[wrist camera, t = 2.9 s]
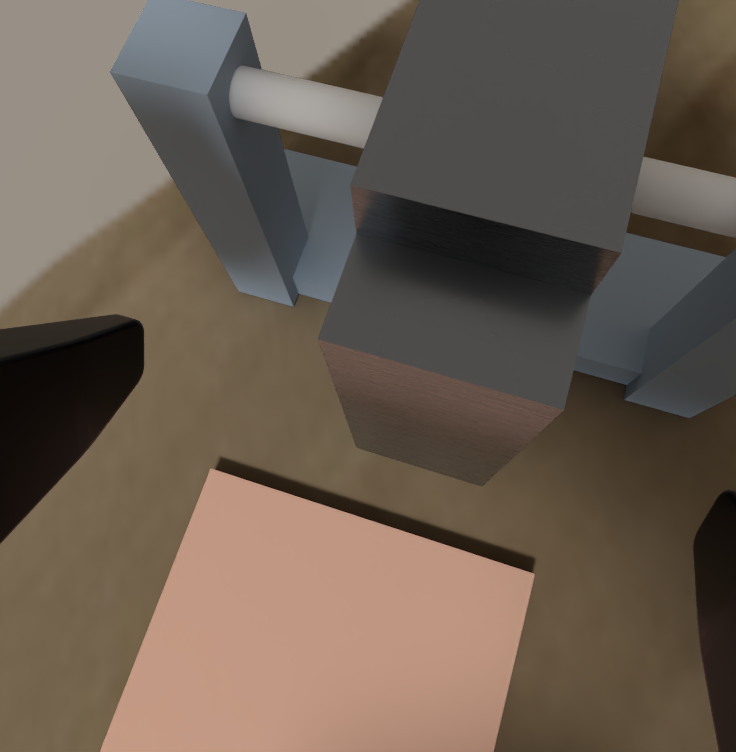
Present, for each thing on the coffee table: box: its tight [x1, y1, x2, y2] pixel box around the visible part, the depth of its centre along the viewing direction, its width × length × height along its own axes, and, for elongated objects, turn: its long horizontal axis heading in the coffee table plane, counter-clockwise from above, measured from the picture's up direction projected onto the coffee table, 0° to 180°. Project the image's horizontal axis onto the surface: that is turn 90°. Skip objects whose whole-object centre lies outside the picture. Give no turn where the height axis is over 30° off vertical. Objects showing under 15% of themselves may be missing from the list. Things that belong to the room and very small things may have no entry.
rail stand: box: [110, 0, 736, 418], centre depth 16 cm, size 16×5×10 cm, turn 72°
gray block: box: [318, 0, 679, 486], centre depth 15 cm, size 4×7×11 cm, turn 162°
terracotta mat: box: [100, 469, 535, 752], centre depth 17 cm, size 10×10×1 cm
